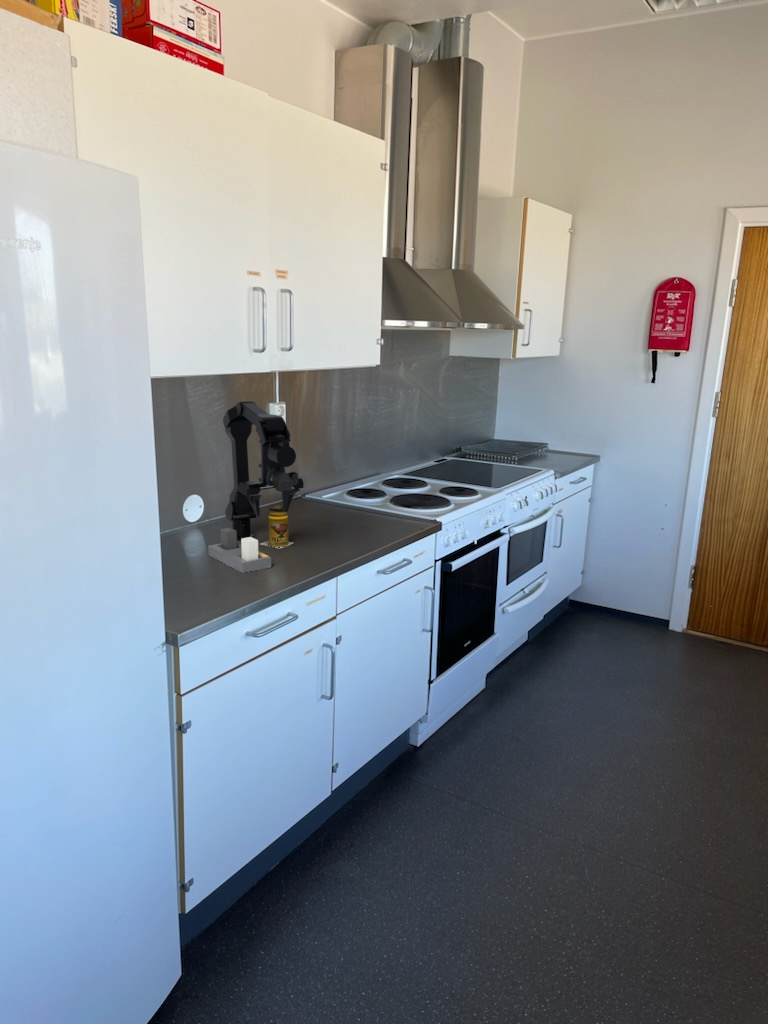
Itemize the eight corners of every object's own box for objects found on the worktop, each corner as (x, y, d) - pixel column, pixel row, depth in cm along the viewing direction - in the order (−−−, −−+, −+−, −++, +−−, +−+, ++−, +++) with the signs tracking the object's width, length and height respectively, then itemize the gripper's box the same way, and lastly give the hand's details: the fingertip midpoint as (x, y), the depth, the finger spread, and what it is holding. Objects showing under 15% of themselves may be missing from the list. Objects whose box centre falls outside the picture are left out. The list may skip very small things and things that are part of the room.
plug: (241, 565, 208) (241, 538, 206) (251, 564, 210) (250, 536, 208) (248, 569, 205) (248, 541, 203) (258, 567, 207) (258, 540, 205)
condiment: (280, 549, 225) (280, 510, 222) (258, 544, 229) (257, 506, 226) (294, 543, 231) (294, 506, 228) (272, 539, 235) (272, 502, 232)
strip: (208, 555, 216) (208, 544, 216) (236, 550, 222) (235, 540, 221) (242, 573, 202) (242, 562, 201) (271, 567, 207) (271, 556, 206)
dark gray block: (221, 555, 217) (220, 529, 215) (230, 553, 219) (229, 527, 217) (227, 558, 214) (227, 532, 212) (237, 557, 216) (236, 530, 214)
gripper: (256, 468, 198) (257, 525, 202) (314, 462, 209) (314, 515, 213) (236, 462, 206) (237, 516, 210) (293, 456, 218) (293, 508, 221)
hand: (271, 514), depth 213 cm, fingers open, 9 cm apart
